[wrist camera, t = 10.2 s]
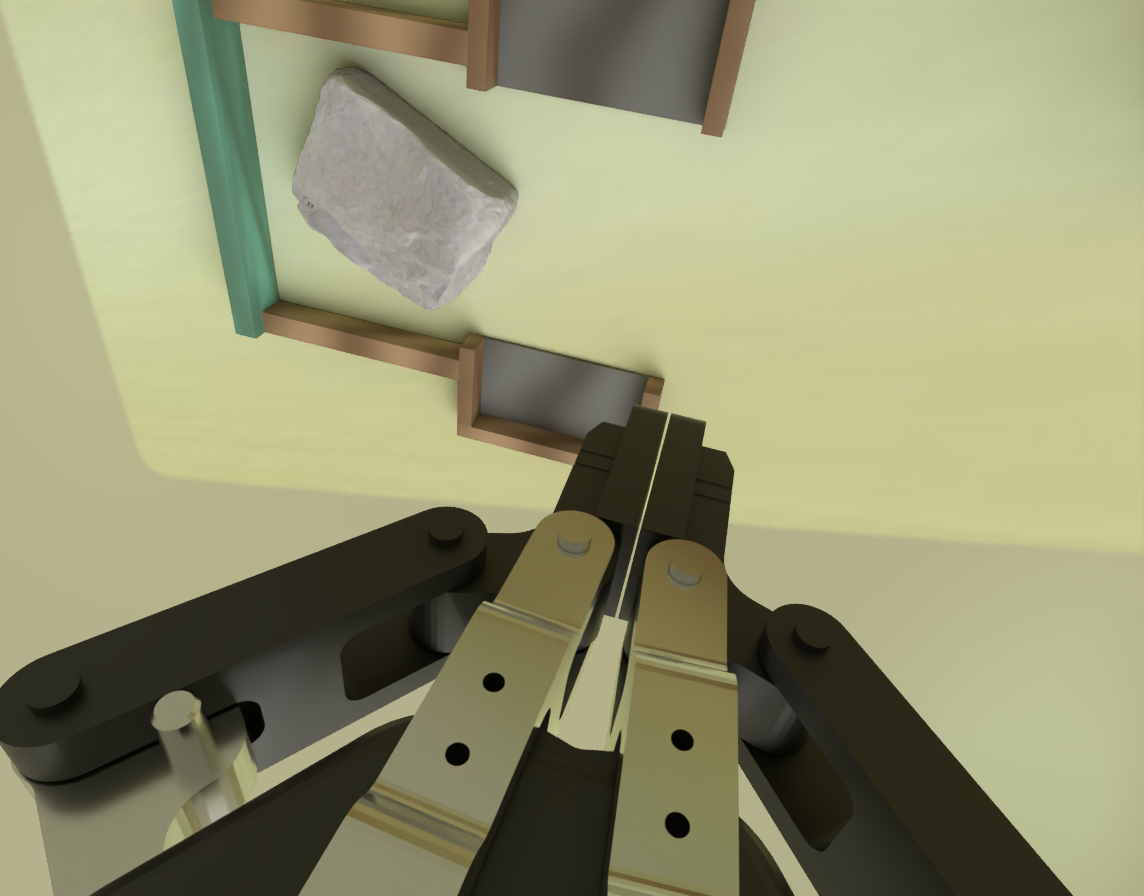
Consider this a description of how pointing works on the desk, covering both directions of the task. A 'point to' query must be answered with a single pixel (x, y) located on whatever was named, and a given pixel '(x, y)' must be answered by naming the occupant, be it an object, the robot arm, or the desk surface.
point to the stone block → (397, 191)
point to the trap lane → (493, 58)
